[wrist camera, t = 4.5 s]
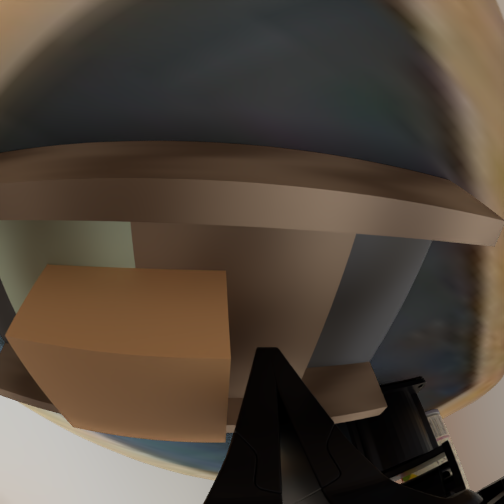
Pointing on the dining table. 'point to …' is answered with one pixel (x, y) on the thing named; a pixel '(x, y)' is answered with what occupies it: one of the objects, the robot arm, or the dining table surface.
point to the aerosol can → (441, 437)
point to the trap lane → (239, 246)
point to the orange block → (130, 349)
